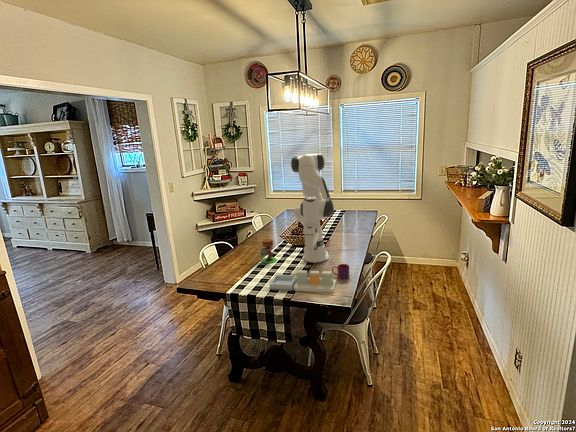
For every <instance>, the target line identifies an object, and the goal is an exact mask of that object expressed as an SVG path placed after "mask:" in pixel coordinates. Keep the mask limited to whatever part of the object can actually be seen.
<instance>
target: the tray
mask: <svg viewBox="0 0 576 432" xmlns="http://www.w3.org/2000/svg"><path fill="white" fill-rule="evenodd" d="M297 277H298V274H297V275H296V274H275V275H274V277H273V278H272V280H271V281H270V283H269V290H270V291H286V292H289V291H290V292H292V291H293V290H294V286H295V284H296V282H297V280H296V278H297Z"/></svg>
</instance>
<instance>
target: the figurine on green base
mask: <svg viewBox="0 0 576 432" xmlns="http://www.w3.org/2000/svg"><path fill="white" fill-rule="evenodd" d="M261 242H262V248H261V249H260V250H259V257H260V260H261V263H263V264H274V263H276V262H277V260H278V259H277V258H276V257H274V256H273V254H274V253H273V252H272V250H273V249H274V247H273V246H274V240H273V239H271V238H265V239H263V240H262V241H261ZM263 256H265V257H263ZM266 256H267V257H266ZM262 257H263V259H262Z"/></svg>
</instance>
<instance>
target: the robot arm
mask: <svg viewBox="0 0 576 432" xmlns="http://www.w3.org/2000/svg"><path fill="white" fill-rule="evenodd" d="M325 165H326V158H325V157H324V155H323V154H322V153H319V152H318V153H317V152H316V153H309V154H308V153H307V154H302V155H296V156H293V157H292V158H291V161H290V169H291V170H292V172H293V173H296V174H297V173H298V177H299V181H300V182H301V187H302V189H301V190H302V195H303V196H304V198H303V200H302V202H301V203H300V205H297V206H296V207H294V210H293V216H294V219H296V221H298V222H299V223H300V224H301V225H302V226H303V230H302V233H303V235H304V243H305V246H304V247H303V256H301V257H302V258H301V259H302V260H305V261H306V262H308V263H321V262H325V261H328V260H330V255H329V252H328V250H327V249H326V245H325V244H324V239H323V238H324V237H323V229H322V227H321V220H324V219H325V220H326V219H328V218H330V217H331V216H332V215H333V214H334V213H335V212H334V211H335V206H334V205H335V204H334V202H333V200H332V198H331V196H330V193H329V188H328V186H327V184H326V183H327V182H326V180H325V178H324V177H323V176H321V175H320V172H321V171H322V170H323V169H324V168H325Z"/></svg>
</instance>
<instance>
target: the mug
mask: <svg viewBox="0 0 576 432" xmlns="http://www.w3.org/2000/svg"><path fill="white" fill-rule="evenodd" d="M334 269H337V273H336V272H335V271H334ZM331 271H332V274H333V275H335V276H337V278H338V279H341V280H347V279H350V265H349V264H348V263H347V264H345V263H342V264H341V263H340V264H338V265H337V266H333V267H332V268H331Z"/></svg>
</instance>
